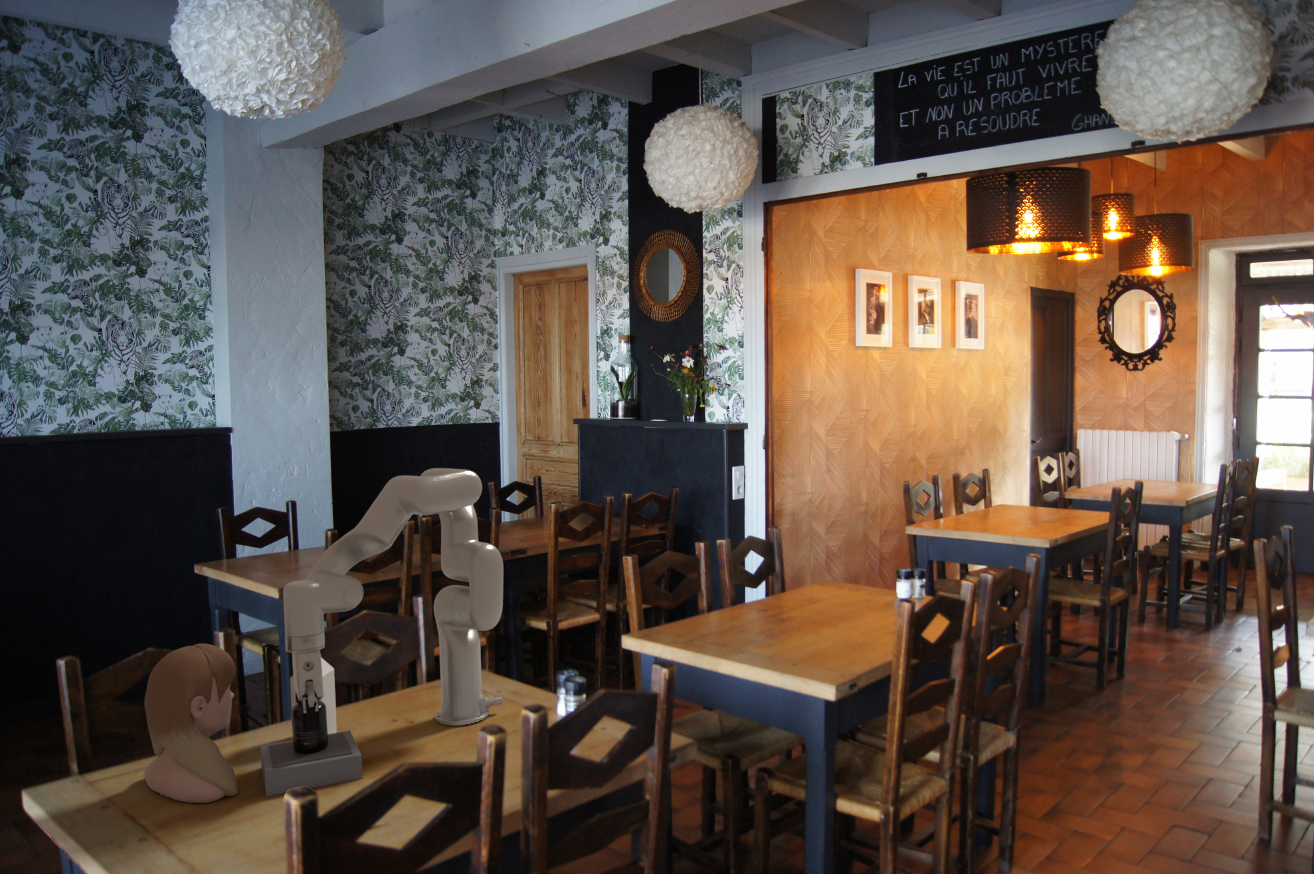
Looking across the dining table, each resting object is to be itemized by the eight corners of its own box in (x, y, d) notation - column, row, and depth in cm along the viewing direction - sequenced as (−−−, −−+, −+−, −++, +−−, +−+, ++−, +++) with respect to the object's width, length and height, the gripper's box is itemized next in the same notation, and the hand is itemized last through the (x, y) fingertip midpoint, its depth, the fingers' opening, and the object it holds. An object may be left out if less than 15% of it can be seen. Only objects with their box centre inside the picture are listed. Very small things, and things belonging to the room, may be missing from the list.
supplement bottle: (298, 742, 200) (296, 686, 199) (332, 741, 200) (329, 684, 200) (288, 755, 193) (285, 696, 192) (322, 753, 193) (320, 695, 193)
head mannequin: (274, 780, 192) (263, 644, 190) (192, 815, 178) (178, 668, 176) (208, 756, 206) (197, 629, 204) (127, 787, 193) (114, 651, 191)
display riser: (350, 751, 207) (349, 729, 207) (362, 777, 193) (361, 753, 193) (261, 767, 200) (260, 744, 200) (266, 796, 185) (265, 770, 185)
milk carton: (337, 732, 220) (333, 651, 219) (323, 744, 213) (319, 659, 212) (307, 732, 221) (303, 651, 220) (292, 743, 213) (288, 659, 213)
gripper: (329, 648, 189) (333, 733, 190) (319, 629, 205) (323, 708, 205) (289, 653, 186) (293, 740, 186) (282, 634, 201) (285, 714, 202)
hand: (308, 723), depth 196 cm, fingers open, 9 cm apart
